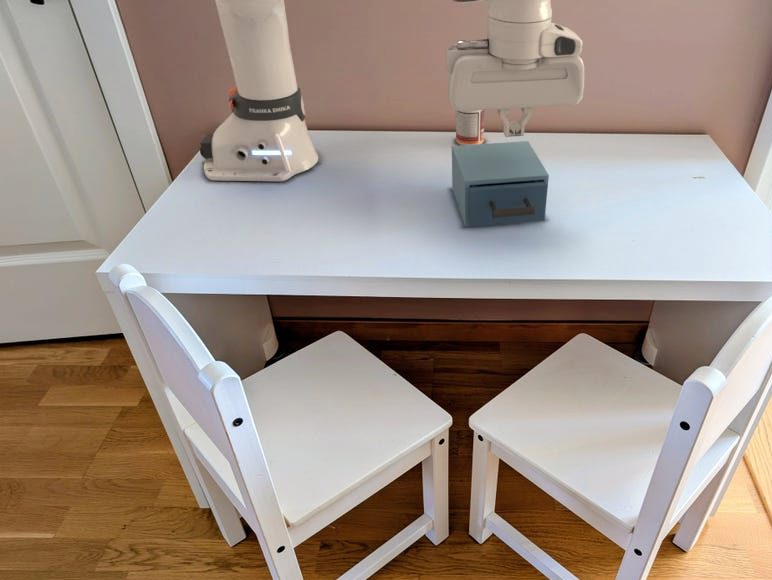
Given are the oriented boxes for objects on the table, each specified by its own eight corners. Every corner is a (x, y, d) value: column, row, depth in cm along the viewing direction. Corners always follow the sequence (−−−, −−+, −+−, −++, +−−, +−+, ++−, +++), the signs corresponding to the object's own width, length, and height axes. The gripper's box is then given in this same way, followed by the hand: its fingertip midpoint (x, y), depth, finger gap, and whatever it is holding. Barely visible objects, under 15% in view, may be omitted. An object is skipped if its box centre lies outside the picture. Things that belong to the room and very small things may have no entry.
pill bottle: (472, 134, 138) (472, 81, 131) (489, 142, 135) (490, 89, 127) (450, 140, 135) (449, 87, 128) (467, 150, 132) (467, 96, 124)
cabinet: (544, 220, 110) (549, 175, 104) (465, 226, 108) (464, 181, 102) (525, 183, 120) (528, 140, 115) (452, 189, 118) (451, 145, 112)
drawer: (551, 233, 105) (555, 197, 100) (474, 240, 103) (474, 203, 98) (526, 186, 118) (528, 151, 113) (457, 191, 116) (457, 156, 111)
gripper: (448, 47, 82) (450, 147, 91) (593, 41, 85) (581, 139, 94) (442, 34, 87) (444, 131, 96) (580, 29, 90) (569, 123, 99)
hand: (513, 135), depth 95 cm, fingers closed
